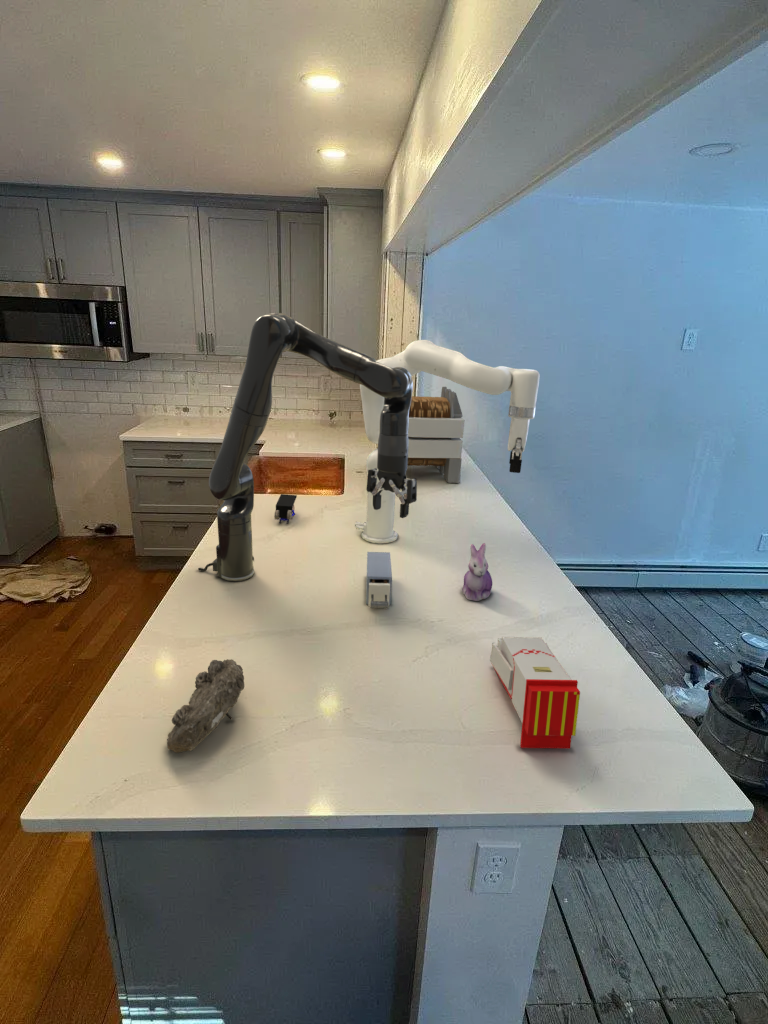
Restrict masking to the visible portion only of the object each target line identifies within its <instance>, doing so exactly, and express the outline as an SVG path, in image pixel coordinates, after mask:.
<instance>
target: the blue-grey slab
mask: <svg viewBox="0 0 768 1024" xmlns="http://www.w3.org/2000/svg"><path fill="white" fill-rule="evenodd" d="M392 571H393V570H392V559H391V552H389V551H388V552H387V551H367V553H366V576H365V577H366V578H365V579H366V581H365V582H366V583H365V604H366V605H368V601H369V583H371V579H384V580H387V583H390V595H389V606H391V604H392V587H393V586H392V585H393V573H392Z"/></svg>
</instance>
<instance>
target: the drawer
mask: <svg viewBox="0 0 768 1024" xmlns="http://www.w3.org/2000/svg"><path fill="white" fill-rule="evenodd" d="M389 595H390V583H387V580H384V579H371V583H369V601H368V604H367V605H368V606H367V607H368V608H370V609H389V607H390V605H389Z"/></svg>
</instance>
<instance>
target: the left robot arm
mask: <svg viewBox="0 0 768 1024" xmlns="http://www.w3.org/2000/svg"><path fill="white" fill-rule="evenodd" d="M286 352H291V353H293V354H294V353H295V354H298V355H301V356H304V357H307V358H309V359H312V360H313V361H316V362H317V363H318V364H320V365H322V366H323V367H325V368H326V369H327V370H328V371H330V372H332V373H333V374H335V375H337V376H340V377H342V378H343V379H346V380H348V381H351V382H353V383H355V384H359V385H360V384H361V385H363V386H365V387H366V388H368V389H370V390H371V391H373V392H375V393H376V394H378V395H380V396H382V397H384V407H383V409H382V411H381V415H380V430H379V432H380V433H379V439H378V444H377V448H378V458H377V468H378V470H377V468H374V469H370V470H368V477H367V476H366V480H367V481H366V492H367V491H368V492H371V493H372V495H373V507H374V509H375V510H378V509H380V508H381V495H380V494H381V493H382V491H383V490H386V491H387V490H389V491H391V492H393V493H394V492H395V497H397V498H398V499H399V501H400V505H399V518H401V519H404V518H407V517H408V516H409V512H410V504H412V503H416V502H417V501H418V500H417V499H418V498H417V497H418V496H417V495H418V493H417V492H418V480H417V478H415V477H413V478H408V477H407V471H408V466H407V465H408V447H409V440H408V428H409V409H410V404H411V397H412V396H413V389H414V380H413V376H411V374H410V372H409V371H408V370H406V369H405V368H402V367H395V368H391V367H388V366H386V365H383V364H381V363H379V362H376V361H377V360H376V359H375V357H372V356H371V355H369V354H366V353H364V352H362V351H359V350H357V349H355V348H352V347H349V346H348V345H345V344H342V343H339V342H337V341H335V340H332V339H330V338H328V337H326V336H324V335H322V334H320V333H318V332H316V331H315V330H312V329H311V328H309V327H308V326H306V325H304V324H303V323H301V322H300V321H298V320H296V319H294V318H293V317H291V316H290V315H288V314H286V313H283V312H272V313H266V314H263V315H261V316H259V317H258V318H257V319H256V320H255V321H254V323H253V325H252V328H251V331H250V336H249V343H248V349H247V353H246V354H247V355H246V359H245V364H244V368H243V372H242V375H241V378H240V381H239V385H238V388H237V392H236V395H235V398H234V400H233V404H232V408H231V410H230V415H229V419H228V423H227V426H226V430H225V433H224V436H223V439H222V443H221V446H220V449H219V451H218V454H217V456H216V458H215V461H214V462H213V466H212V468H211V471H210V474H209V476H208V477H209V478H208V487H209V490H210V493H211V494H212V496H213V497H214V498H215V499H217V500H218V501H223V502H222V504H221V505H220V506H219V507H218V509H217V511H216V521H217V534H218V537H217V538H218V544H217V545H216V547H215V551H216V552H215V553H216V554H215V555H216V558H215V559H214V560H213V561H212V562H210V563H207V564H206V565H205V567H204V568H203V567H198V569H197V570H198V571H201V572H205V571H207V570H208V568H209V567H211V566H212V572H215V573H216V572H217V577H218V578H220V579H222V580H225V581H227V582H243V581H246V580H249V579H250V578H252V577H253V576H254V573H255V571H254V562H255V557H254V552H253V530H252V513H253V510H254V505H255V504H254V503H255V480H254V474H253V471H252V470H251V468H250V467H249V465H248V464H247V463H246V462H245V460H246V458H247V456H248V454H249V453H250V451H251V450H252V449H253V447H254V446H255V445H256V443H257V442H258V441H259V439H260V438H261V437H262V434H263V433H264V431H265V428H266V426H267V423H268V420H269V417H270V414H271V411H272V406H273V378H274V373H275V372H276V371H275V370H276V368H277V365H278V362H279V360H280V358H281V355H282V354H283V353H286ZM377 477H378V479H379V483H378V484H377ZM376 484H377V485H376Z"/></svg>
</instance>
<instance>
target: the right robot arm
mask: <svg viewBox="0 0 768 1024" xmlns="http://www.w3.org/2000/svg"><path fill="white" fill-rule="evenodd" d="M375 361H376V362H379V363H381V364H383V365H386V366H388V367H391V368H395V367H402V368H405V369H406V370H408V371H409V372H410V374H411V376H412V377H413V376H415V375H417V374H419V373H421V372H423V373H426V374H429V375H434V376H436V377H440V378H442V379H446V380H448V381H450V382H452V383H456V384H459V385H460V386H463V387H466V388H469V389H471V390H474V391H477V392H480V393H483V394H487V395H490V396H491V395H492V396H499V395H501V394H504V393H506V392H510V398H509V406H508V414H507V415H508V416H507V417H508V418H510V424H509V431H508V432H509V433H508V441H507V451H508V452H510V453H509V460H508V464H509V473H515V474H520V473H521V470H522V462H523V459H522V457H523V453H524V452H525V450H526V444H527V441H528V434H529V428H530V420H534V419H535V416H536V415H535V414H536V408H537V407H536V406H537V399H538V392H539V385H540V378H541V377H540V376H541V375H540V372H539V371H538V370H536V369H530V368H514V367H509V366H505V365H499V366H495V367H493V366H489V365H486V364H484V363H480V362H476V361H474V360H471V359H470V358H468V357H466V356H465V355H464V354H463V353H462V352H459V351H457V350H454V349H450V348H448V347H443V346H440V345H437V344H435V343H434V342H432V340H429V339H416V340H414V341H411V342H410V343H409V344H408V345H407V346H406V347H405V350H403V351H400V352H399V353H397V354H395V355H392V356H390V357H383V358H380V359H377V360H375ZM359 391H360V398H361V407H362V415H363V423H364V424H363V425H364V431H365V435H366V438H367V439H368V441H369V442H371V443H372V444H375V445H378V439H379V433H380V432H379V430H380V415H381V411H382V409H383V407H384V397H382V396H380V395H378V394H376V393H375V392H373V391H371V390H370V389H368V388H366V387H365V386H363V385H361V384H359ZM377 458H378V447H376V448H375V449H373V450H372V451H371V452H370V453H369V455H368V456H367V458H366V462H365V470H366V478H367V477H368V470H370V469H374V468H377ZM377 470H378V468H377ZM378 483H379V479H378V477H377V484H378ZM377 484H376V485H377ZM380 495H381V508H380V509H378V510H375V509H374V507H373V495H372V493H371V492H368V491H367V490H366V519H365V520H366V521H364V522H362V521H355V522H354V527H355V529H356V530H361V534H360V535H361V538H362V539H363V540H364V541H366V542H368V543H373V544H389V543H393V542H395V541H397V540H398V537H399V534H398V532H397V531H396V530H395V528H394V527H395V510H396V509H395V508H396V507H395V506H396V494H395V492H394V493H393V492H391V491H389V490H387V491H386V490H383V491H382V493H381V494H380Z"/></svg>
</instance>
